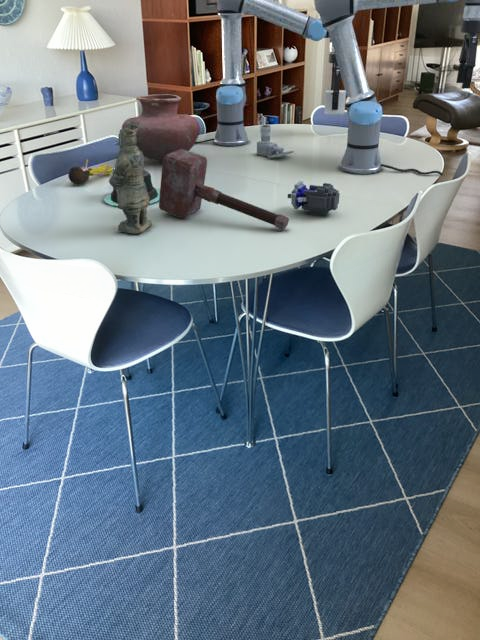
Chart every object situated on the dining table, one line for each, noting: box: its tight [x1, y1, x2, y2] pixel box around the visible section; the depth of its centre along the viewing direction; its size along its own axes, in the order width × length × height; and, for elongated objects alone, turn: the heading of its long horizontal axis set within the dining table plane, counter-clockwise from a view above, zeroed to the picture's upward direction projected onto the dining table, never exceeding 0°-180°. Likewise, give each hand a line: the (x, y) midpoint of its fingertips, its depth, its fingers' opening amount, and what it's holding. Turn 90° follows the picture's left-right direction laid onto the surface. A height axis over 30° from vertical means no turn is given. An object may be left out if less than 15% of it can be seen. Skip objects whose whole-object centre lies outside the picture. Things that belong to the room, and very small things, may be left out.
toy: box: [287, 180, 341, 216], centre depth 168 cm, size 9×9×15 cm
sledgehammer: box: [158, 149, 290, 231], centre depth 163 cm, size 17×10×40 cm
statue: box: [108, 121, 153, 235], centre depth 154 cm, size 11×9×30 cm
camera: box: [256, 124, 295, 159], centre depth 227 cm, size 9×12×15 cm
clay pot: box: [121, 93, 201, 163], centre depth 222 cm, size 30×30×25 cm
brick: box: [324, 89, 347, 115], centre depth 254 cm, size 9×6×9 cm
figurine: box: [67, 158, 115, 186], centre depth 207 cm, size 13×8×25 cm
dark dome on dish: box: [103, 168, 160, 207], centre depth 186 cm, size 15×19×20 cm
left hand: (334, 108), depth 255 cm, fingers closed on brick, 6 cm apart
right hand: (462, 85), depth 203 cm, fingers open, 13 cm apart
